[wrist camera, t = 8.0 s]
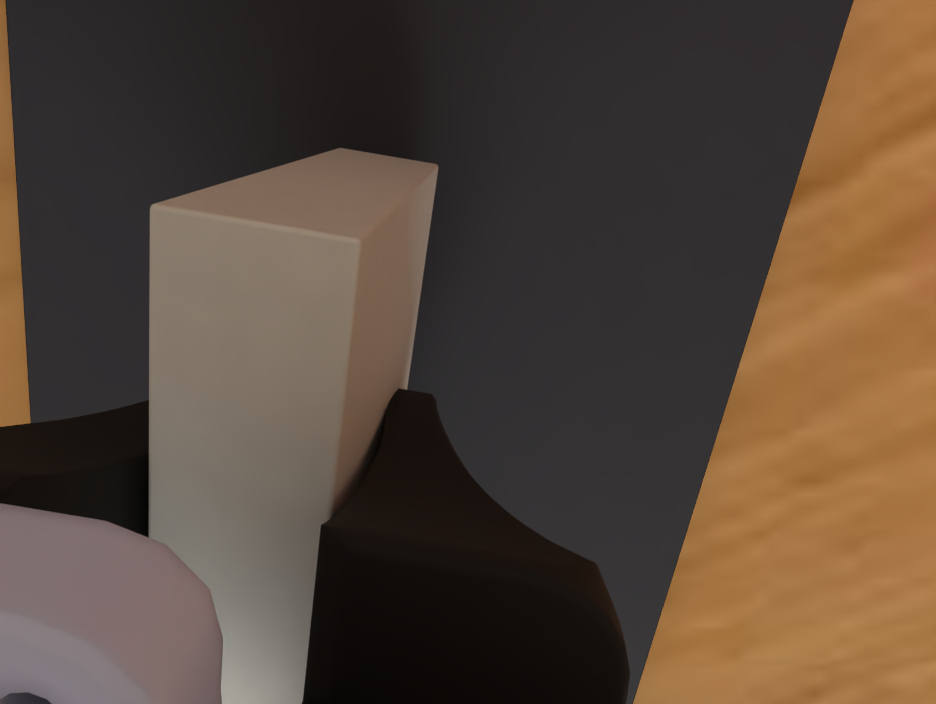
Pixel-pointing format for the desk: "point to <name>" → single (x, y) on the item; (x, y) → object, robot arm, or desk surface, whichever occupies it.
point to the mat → (454, 215)
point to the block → (276, 382)
